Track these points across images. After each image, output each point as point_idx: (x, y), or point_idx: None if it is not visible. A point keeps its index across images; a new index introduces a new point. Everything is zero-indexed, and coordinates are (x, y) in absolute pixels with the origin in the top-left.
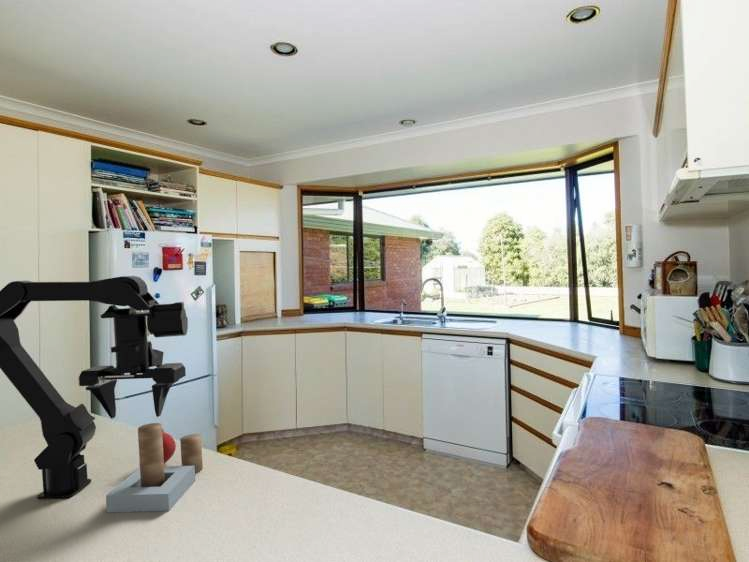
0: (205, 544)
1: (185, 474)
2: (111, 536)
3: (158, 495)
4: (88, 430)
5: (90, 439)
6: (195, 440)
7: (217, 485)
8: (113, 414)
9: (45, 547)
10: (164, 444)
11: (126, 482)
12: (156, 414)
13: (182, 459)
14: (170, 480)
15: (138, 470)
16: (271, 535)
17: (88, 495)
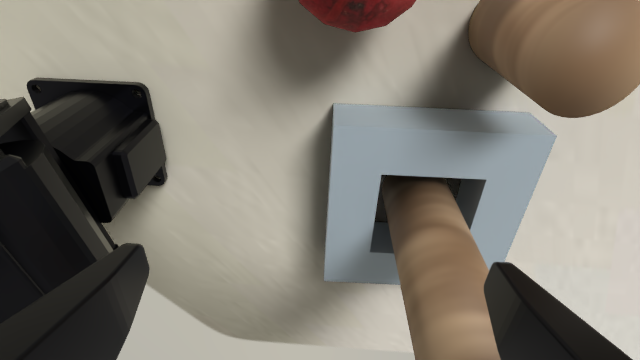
0: None
1: (527, 197)
2: (383, 316)
3: None
4: (61, 258)
5: (61, 171)
6: (618, 99)
7: (605, 152)
8: (137, 281)
9: (276, 329)
10: (405, 4)
11: (343, 225)
12: (493, 312)
13: (499, 73)
14: (483, 229)
15: (341, 151)
16: None
17: (210, 168)
